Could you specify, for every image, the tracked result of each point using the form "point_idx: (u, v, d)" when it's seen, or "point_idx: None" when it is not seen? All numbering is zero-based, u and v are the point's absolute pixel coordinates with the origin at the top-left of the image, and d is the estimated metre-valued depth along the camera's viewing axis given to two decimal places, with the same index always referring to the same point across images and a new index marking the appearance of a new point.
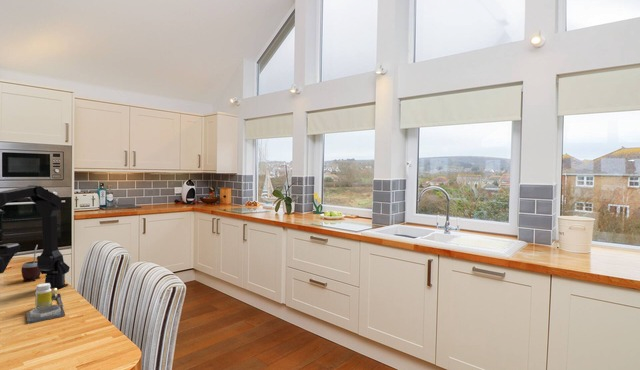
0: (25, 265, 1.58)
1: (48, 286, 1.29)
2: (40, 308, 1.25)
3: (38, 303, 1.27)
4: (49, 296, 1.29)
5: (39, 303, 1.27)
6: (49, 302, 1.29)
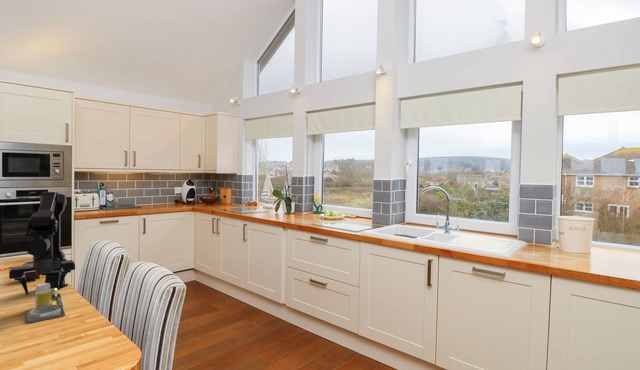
0: (25, 265, 1.58)
1: (48, 286, 1.29)
2: (40, 308, 1.25)
3: (38, 303, 1.27)
4: (49, 296, 1.29)
5: (39, 303, 1.27)
6: (49, 302, 1.29)
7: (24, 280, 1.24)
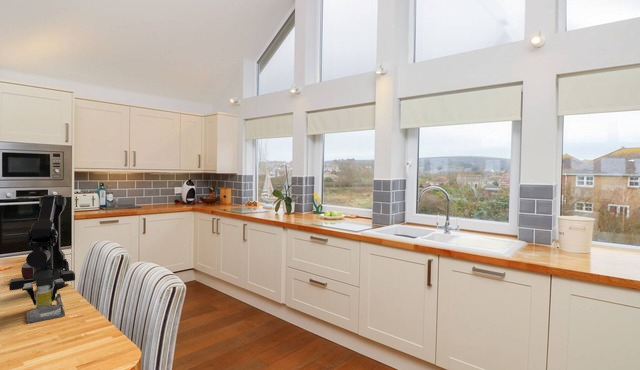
0: (25, 265, 1.58)
1: (48, 286, 1.29)
2: (40, 308, 1.25)
3: (38, 302, 1.27)
4: (49, 296, 1.29)
5: (39, 302, 1.27)
6: (49, 302, 1.29)
7: (32, 290, 1.26)
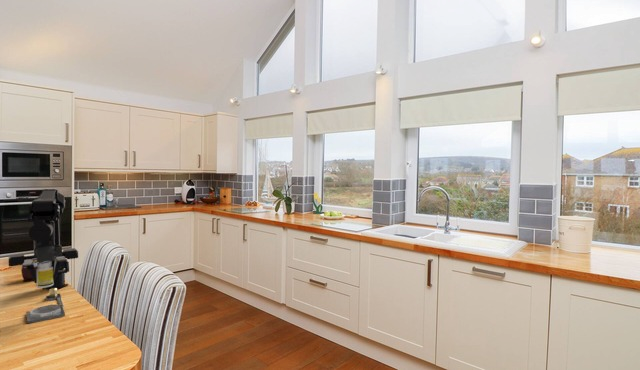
0: None
1: (49, 263, 1.22)
2: (40, 308, 1.25)
3: (39, 281, 1.20)
4: (51, 274, 1.22)
5: (40, 280, 1.20)
6: (51, 280, 1.22)
7: (32, 267, 1.18)
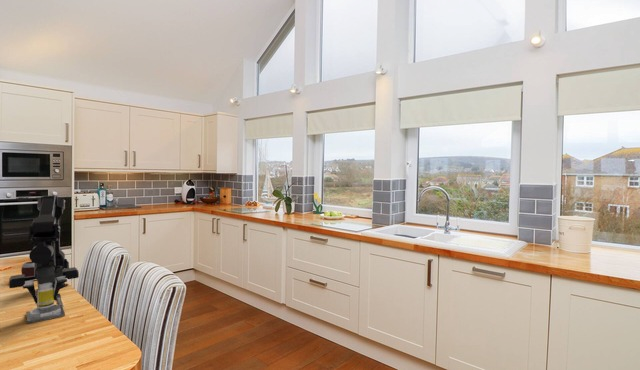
0: (25, 265, 1.58)
1: (50, 284, 1.22)
2: (40, 308, 1.25)
3: (39, 301, 1.20)
4: (51, 294, 1.22)
5: (40, 301, 1.20)
6: (51, 300, 1.22)
7: (33, 288, 1.19)
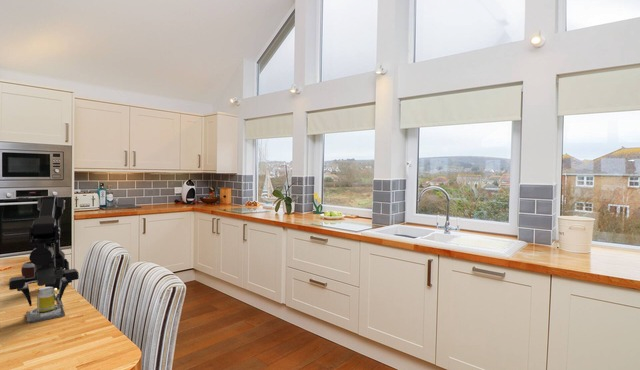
0: (25, 265, 1.58)
1: (51, 290, 1.23)
2: None
3: (40, 307, 1.20)
4: (52, 300, 1.23)
5: (41, 307, 1.20)
6: (52, 307, 1.22)
7: (27, 290, 1.18)
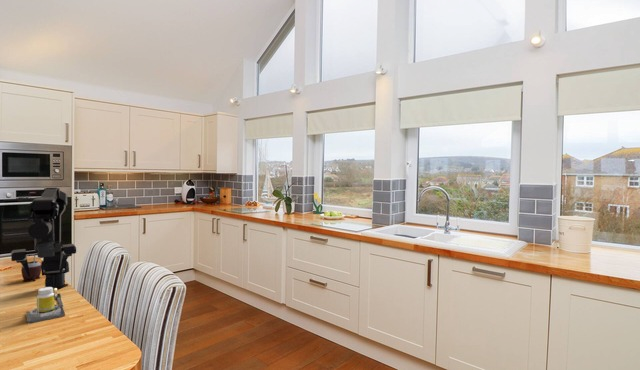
0: None
1: (50, 290, 1.22)
2: None
3: (40, 308, 1.20)
4: (51, 301, 1.22)
5: (41, 307, 1.20)
6: (51, 307, 1.22)
7: (26, 263, 1.26)
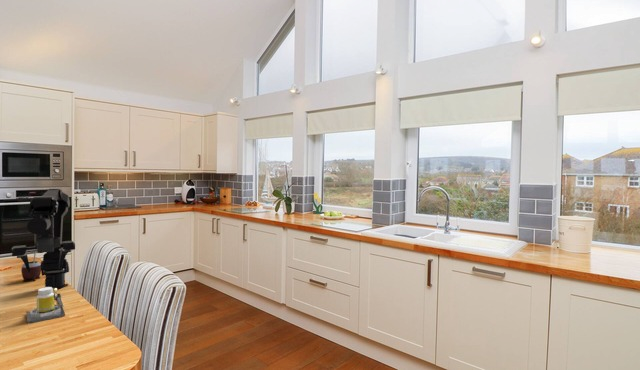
0: None
1: (50, 290, 1.22)
2: None
3: (40, 308, 1.20)
4: (51, 301, 1.22)
5: (40, 308, 1.20)
6: (51, 307, 1.22)
7: (26, 258, 1.29)
